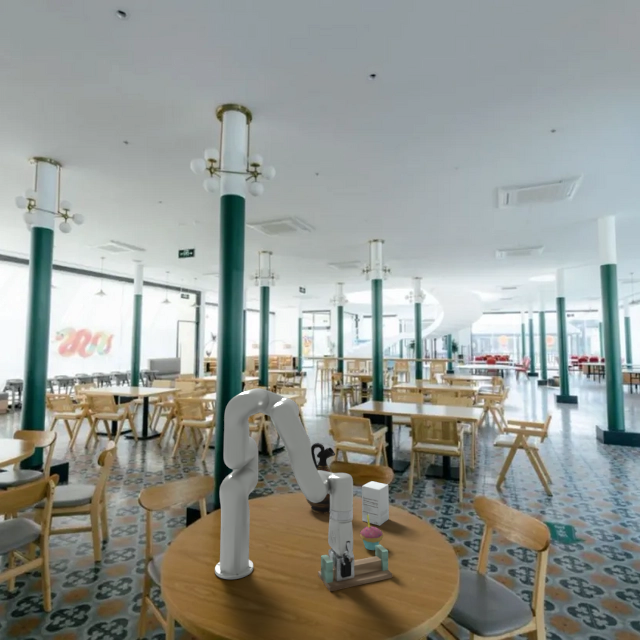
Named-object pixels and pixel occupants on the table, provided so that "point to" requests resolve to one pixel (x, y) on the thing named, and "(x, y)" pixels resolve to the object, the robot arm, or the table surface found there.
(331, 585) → the rail bed
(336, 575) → the grey sliding block
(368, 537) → the cupcake
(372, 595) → the table surface
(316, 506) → the ceramic jug
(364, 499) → the supplement box
